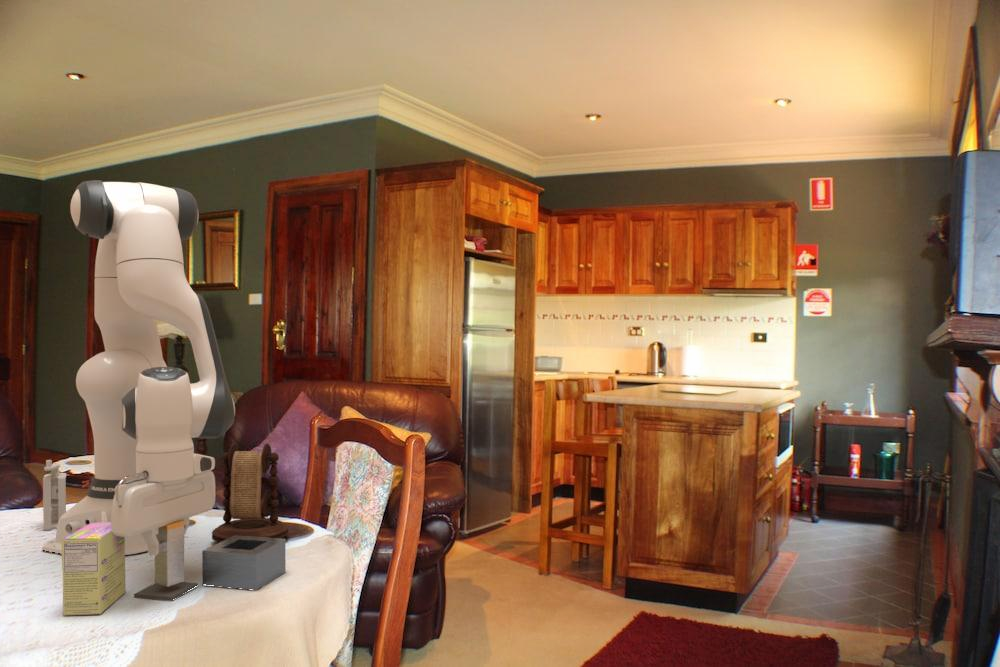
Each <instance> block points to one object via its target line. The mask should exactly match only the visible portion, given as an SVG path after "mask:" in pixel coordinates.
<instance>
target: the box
mask: <svg viewBox="0 0 1000 667" xmlns="http://www.w3.org/2000/svg"><path fill="white" fill-rule="evenodd" d="M61 562H62V564H61V565H62V566H61V567H62V616H63V617H65V616H66V617H67V616H68V617H69V616H89V615H90V616H92V615H95V616H96V615H101V614H103V612H104V611H106V610H107V609H108V608H109V607H110V606H111V605H112V604H113V603H115V601H117V600H118V599H119V598H120V597H122V596H123V595H124V594H126V555H125V537H121V536H116V535H114V533H113V532H112V531H111V522H103V523H90V524H88V525H87V526H85V527H83V528H81V529H80V530H78V531H76V532H75V533H73V534H71V535H69V536H68V537H66V538H64V539H62V554H61Z"/></svg>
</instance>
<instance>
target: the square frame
mask: <svg viewBox="0 0 1000 667" xmlns="http://www.w3.org/2000/svg"><path fill="white" fill-rule="evenodd" d="M201 554H202V555H201V556H202V557H201V558H202V559H201V560H202V561H201V562H202V566H201V567H202V568H201V569H202V571H201V572H202V574H201V575H202V578H201V579H202V580H201V582H202V583H201V584H202V585H203V584H206V585H214V586H222V587H231V588H242V589H253V590H257V589H258V588H260V587H261V588H263V587H264V586H263V585H265V584H266V585H267V583H268V584H269V583H271V582H273V581H274V580H275V579H278V578H279V577H281V576H282V575H284V574H285V573H286V538H267V537H252V536H238V535H234V536H232V537H230V538H228V539H226V540H224V541H222V542H220V543H218V544H216V543H215V544H214V545H211V546H209V547H208V548H205V549H203V550H202V551H201ZM272 580H273V581H272ZM270 581H271V582H270ZM266 585H265V586H266ZM262 586H263V587H262ZM261 588H260V589H261ZM253 590H252V591H253ZM258 590H259V589H258ZM258 590H257V591H258Z"/></svg>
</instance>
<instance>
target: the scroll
mask: <svg viewBox="0 0 1000 667" xmlns="http://www.w3.org/2000/svg"><path fill="white" fill-rule="evenodd" d="M221 459H222V461H223V463H222V464H223V465H224V468H223V475H222V477H221V484H222V487H224V490H223V494H222V495H223V497H224V498H223V499H222V503H221V504H222V506H223V511H224V514H223V516H222V520H223V522H224V523H222V524H220V525H218V526H217V527H216V528H214V529H213V530H212V532H211V539H212V540H213V541H214V542H215V544H218V543H220V542H222V541H224V540H226V539H228V538H230V537H232V536H234V535H238V536H252V537H267V538H281V539H284V537H286V536H288V534H289V526H288V524H286V523H284V522H283V521H281V520H280V519H279V516H278V513H277V511H278V510H279V509H278V508H277V507H278V506H279V504H280V502H279V499H277V497H278V495H279V494H278V493H279V492H278V490H277V488H278V486H279V484H280V477H279V476H278V473H279V472H278V468H277V465H278V464H279V463H278V461H279V459H280V457H279V454H278V453H276V452H272V448H271V445H270V444H269V442H266V443H264V444H263V447H262V450H261V451H259V450H257V451H256V450H248V451H247V450H240V449H239V446H238V444H237V443H236V442H233V443H232V444H231V445H230V447H229V450H228V451H227V452H223V454H222V455H221ZM269 469H270V470H269ZM268 471H269V474H270V475H269V477H266V474H267V473H268ZM264 475H265V476H264ZM262 476H263V477H262ZM266 484H267V485H269V487H270V488H266V489H265V490H264V492H263V496H261V494H262V492H261V491H262V485H266ZM261 497H262V498H261ZM232 519H233V520H232Z"/></svg>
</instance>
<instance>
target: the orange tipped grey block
mask: <svg viewBox="0 0 1000 667" xmlns="http://www.w3.org/2000/svg"><path fill="white" fill-rule="evenodd" d="M156 537H157V539H158V542H159V543H163V548H162V549H163V552H162V553H161V554H158V555H156V556H154V584H155V583H156V584H160V585H163V586H167V587H168V586H171V585H174V584H177V583H180V582H185V535H184V521H182V520H179V521H176V522H173V523H170V524H167V525H165V526H162V527H159V528H158V534H157V535H156Z"/></svg>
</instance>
